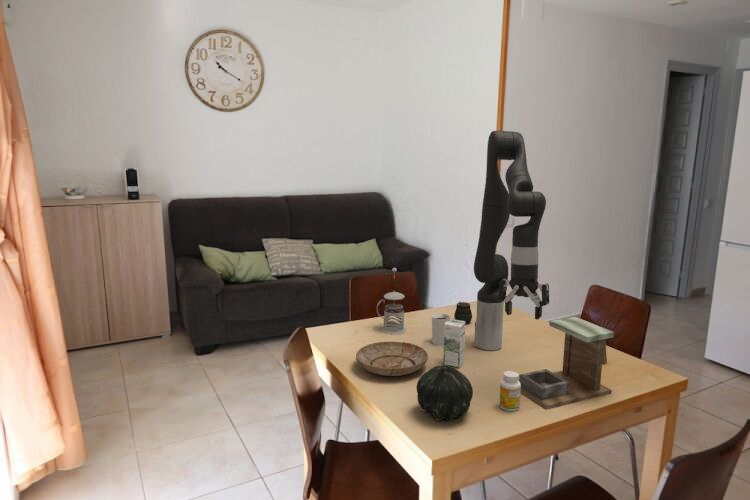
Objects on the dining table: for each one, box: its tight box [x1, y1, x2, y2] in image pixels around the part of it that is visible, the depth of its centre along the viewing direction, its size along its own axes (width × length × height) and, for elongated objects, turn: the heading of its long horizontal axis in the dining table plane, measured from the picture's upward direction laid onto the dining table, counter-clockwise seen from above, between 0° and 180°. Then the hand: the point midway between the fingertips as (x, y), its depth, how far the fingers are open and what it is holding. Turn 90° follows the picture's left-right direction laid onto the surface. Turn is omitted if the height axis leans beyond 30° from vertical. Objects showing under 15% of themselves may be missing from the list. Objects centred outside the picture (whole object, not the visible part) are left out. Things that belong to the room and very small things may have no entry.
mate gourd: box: [454, 301, 473, 325], centre depth 212 cm, size 7×8×10 cm
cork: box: [602, 339, 608, 365], centre depth 174 cm, size 6×6×11 cm
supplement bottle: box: [499, 370, 521, 412], centre depth 143 cm, size 5×5×10 cm
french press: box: [376, 267, 407, 336], centre depth 202 cm, size 10×12×25 cm
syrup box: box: [442, 318, 466, 369], centre depth 171 cm, size 6×6×14 cm
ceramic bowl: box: [355, 341, 429, 377], centre depth 169 cm, size 23×24×5 cm
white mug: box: [431, 313, 451, 346], centre depth 190 cm, size 7×7×10 cm
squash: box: [416, 365, 474, 421], centre depth 139 cm, size 14×15×15 cm
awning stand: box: [518, 316, 615, 410], centre depth 153 cm, size 24×16×18 cm, turn 113°
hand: (522, 316), depth 152 cm, fingers open, 8 cm apart
